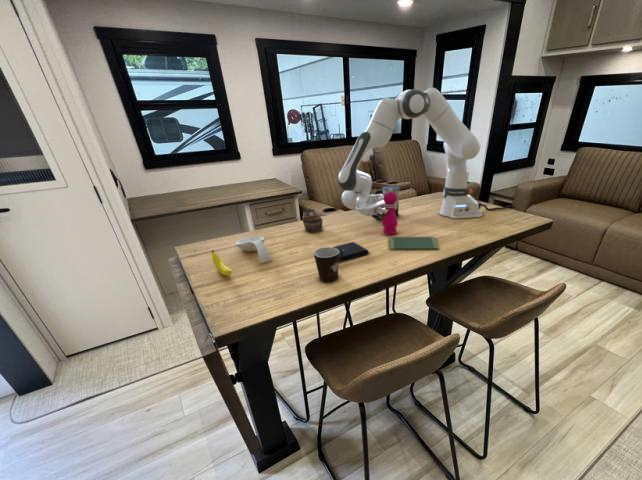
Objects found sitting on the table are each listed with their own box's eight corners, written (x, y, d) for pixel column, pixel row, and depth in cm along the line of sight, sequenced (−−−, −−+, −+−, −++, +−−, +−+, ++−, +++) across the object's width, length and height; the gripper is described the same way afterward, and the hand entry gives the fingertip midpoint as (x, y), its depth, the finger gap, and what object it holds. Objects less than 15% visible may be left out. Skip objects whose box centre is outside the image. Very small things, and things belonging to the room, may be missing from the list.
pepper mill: (378, 232, 149) (378, 188, 138) (388, 228, 153) (389, 185, 142) (390, 236, 144) (391, 191, 134) (400, 232, 149) (402, 188, 138)
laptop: (312, 251, 132) (312, 247, 131) (357, 243, 139) (357, 239, 138) (323, 266, 120) (323, 261, 119) (371, 257, 127) (371, 252, 125)
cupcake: (318, 234, 150) (316, 213, 144) (300, 232, 152) (297, 211, 147) (326, 227, 157) (325, 207, 152) (309, 225, 160) (307, 206, 155)
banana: (229, 284, 109) (225, 268, 106) (212, 266, 122) (208, 251, 118) (238, 282, 111) (233, 265, 108) (220, 264, 123) (216, 249, 120)
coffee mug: (321, 286, 107) (318, 259, 102) (313, 276, 114) (310, 250, 108) (352, 278, 112) (351, 252, 106) (342, 268, 118) (341, 243, 113)
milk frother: (400, 213, 174) (401, 185, 166) (395, 222, 161) (396, 193, 153) (375, 212, 177) (374, 185, 169) (368, 221, 164) (368, 192, 156)
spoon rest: (233, 248, 137) (229, 232, 133) (260, 241, 143) (257, 226, 139) (252, 267, 121) (247, 249, 117) (281, 259, 127) (277, 242, 123)
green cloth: (434, 238, 142) (434, 236, 142) (438, 249, 131) (438, 248, 131) (389, 238, 143) (389, 237, 143) (390, 249, 132) (390, 248, 132)
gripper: (353, 202, 142) (376, 207, 134) (382, 193, 155) (405, 197, 147) (354, 216, 146) (376, 222, 138) (382, 205, 158) (404, 211, 150)
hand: (391, 209), depth 142 cm, fingers closed on pepper mill, 5 cm apart
